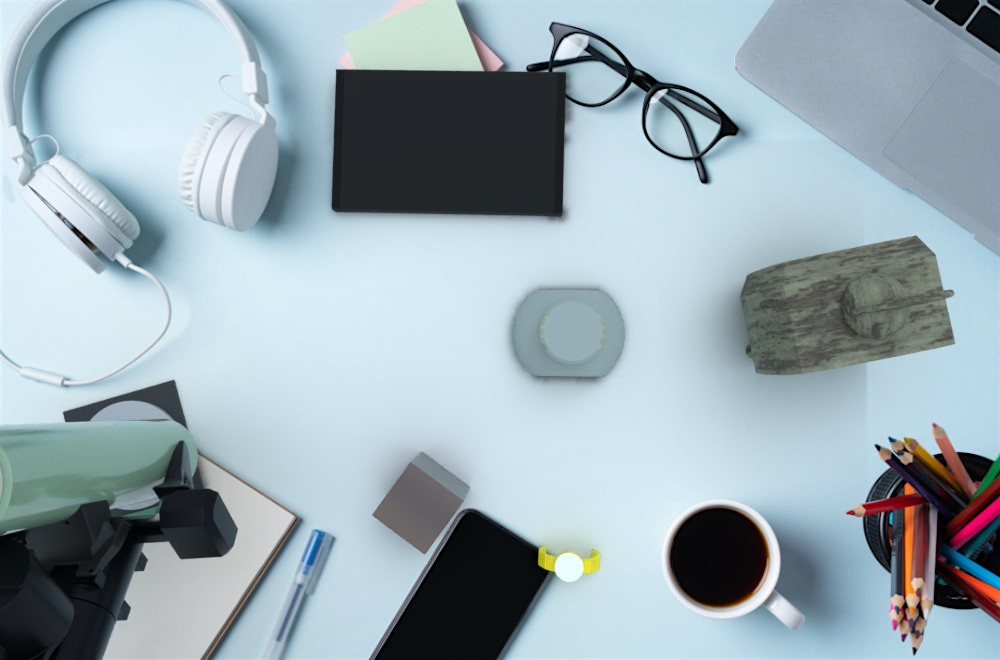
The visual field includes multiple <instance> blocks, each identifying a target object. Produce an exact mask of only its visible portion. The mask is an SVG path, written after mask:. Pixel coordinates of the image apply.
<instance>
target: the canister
mask: <svg viewBox="0 0 1000 660" xmlns="http://www.w3.org/2000/svg"><path fill="white" fill-rule="evenodd" d="M180 440H184V441H185V443H186V445H187V447H188V452H189V459H190V466H191V473H192V477H193V475H194V473H195V470H196V467H197V465H198V461H199V453H198V452H199V451H198V446H197V442H196V440H195V439H194V436H193V435H192V433H191V432H190V431H189V429H188V430H187V429H186V428H185V427H184V426H183V425H181V424H179V423H177V422H175V421H172V420H169V419H141V420H114V421H87V422H65V421H62V422H35V423H33V422H32V423H10V424H0V536H2V535H7V534H11V533H15V532H19V531H23V530H27V529H32V528H36V527H40V526H44V525H48V524H53V523H57V522H61V521H63V520H66V519H67V518H69V517H71V516H72V515H73V514H74V513H75V512H76V511H77V510H78V509H79V507H80V505H81V504H86V503H91V502H97V501H102V500H107V502H108V505H109V508H110V510H111V509H115V508H119V507H124V506H128V505H132V504H136V503H140V502H145V501H149V500H153V499H157V498H158V497H157V495H156V494H155V492H154V491H153V489H152V488H153V487H154V486H157V485H159V484H162V483H163V482H164V479H165V476H166V473H167V470H168V467H169V464H170V461H171V458H172V455H173V452H174V450H175V448H176V446H177V444H178V442H179V441H180Z"/></svg>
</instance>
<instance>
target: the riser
mask: <svg viewBox="0 0 1000 660" xmlns="http://www.w3.org/2000/svg"><path fill="white" fill-rule="evenodd" d="M470 488H471V486H470V485H469V484H467V483H466V482H465V481H463V480H462V479H460V478H459V477H457V476H456V475H455V474H454V473H452V472H451V471H450V470H448V469H447V468H445V467H444V466H443V465H442V464H440V463H439V462H438V461H436V460H434V459H433V458H432V457H430V456H429V455H428V454H426V453H425V452H424V451H421V452H420V453H419V454H417V456H416V457H414V458H413V459H412V460H411V461H410V462H409V463H408V464H407V466H406V467H405V468H404V470H403V472H402V473H401V474H400V476H399V477H398V478H397V480H396V481H395V483H394V484H393V485H392V487H391V488H390V489H389V491H388V492H387V494H386V495H385V496H384V498H383V499H382V500H381V502H380V503H379V504H378V506H377V507H376V509H375V510H374V511H373V513H372V515H371V516H372V517H374V518H375V519H376V520H378V521H379V522H380V523H382V524H383V525H384V526H385V527H387V528H388V529H390V530H391V531H392V532H393V533H395V534H396V535H398V536H399V537H400V538H402V539H403V540H404V541H405V542H407V543H408V544H409V545H411V546H412V547H414V548H415V549H416V550H417V551H419V552H420V553H421V554H423V555H426V554H427V553H428V552H429V550H430V548H431V547H432V546H433V544H434V543H435V541H437V539H438V537H439V536H440V535H441V533H442V532H443V530H444V529H445V528H446V526H447V525H448V524H449V522H450V521H451V519H452V518H453V516H454V515H455V514H456V513H457V511H458V510H459V508H460V507H461V506H462V505H463V503H464V501H465V499H466V497H467V495H468V493H469V491H470V490H471V489H470Z"/></svg>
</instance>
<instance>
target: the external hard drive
mask: <svg viewBox="0 0 1000 660" xmlns="http://www.w3.org/2000/svg"><path fill="white" fill-rule="evenodd" d="M566 88H567V71H514V70H513V71H512V70H511V71H508V70H506V71H505V70H442V69H441V70H437V69H436V70H435V69H429V70H427V69H361V68H360V69H350V68H348V69H347V68H346V69H345V68H336V69H335V88H334V90H335V92H334V116H333V117H334V119H333V121H334V122H333V146H332V149H333V153H332V175H331V177H332V178H331V179H332V180H331V210H332V211H333V212H335V213H362V214H363V213H364V214H366V213H368V214H371V213H372V214H412V215H413V214H415V215H417V214H419V215H420V214H421V215H424V214H425V215H426V214H427V215H462V216H463V215H465V216H466V215H467V216H469V215H470V216H513V217H514V216H515V217H516V216H518V217H519V216H521V217H526V216H527V217H563V214H564V213H563V212H564V177H565V176H564V174H565V134H566V133H565V132H566V91H567V89H566Z"/></svg>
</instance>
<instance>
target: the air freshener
mask: <svg viewBox="0 0 1000 660" xmlns="http://www.w3.org/2000/svg"><path fill="white" fill-rule="evenodd" d="M512 340H513V344H514V345H513V347H514V349H515V352H516V356H517V357H518V360H519V362H520V363H521V365H522V366H523V367H524V368H525V371H527V372H528V373H529V374H530V375H531V376H535V377H537V376H540V377H590V378H591V377H606V376H607V375H608V374H609V373H610V372H612V370H613V369H614V368H615V366H616V365H617V363H618V362H619V359H620V358H621V356H622V353H623V351H624V347H625V346H624V345H625V340H626V327H625V322H624V318H623V316H622V311H621V310H620V308H619V305H618V304H617V302H615V300H614V299H613V297H612V296H611V295H610V294H609V293H608V292H607V291H604V290H595V289H594V290H593V289H592V290H591V289H539V290H537V289H536V290H532V291H531V292H529V294H528V295H527V296H526V297H525V299H524V300H523V301H522V302H521V304H520V306H519V308H518V310H517V312H516V315H515V318H514V322H513V328H512Z"/></svg>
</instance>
